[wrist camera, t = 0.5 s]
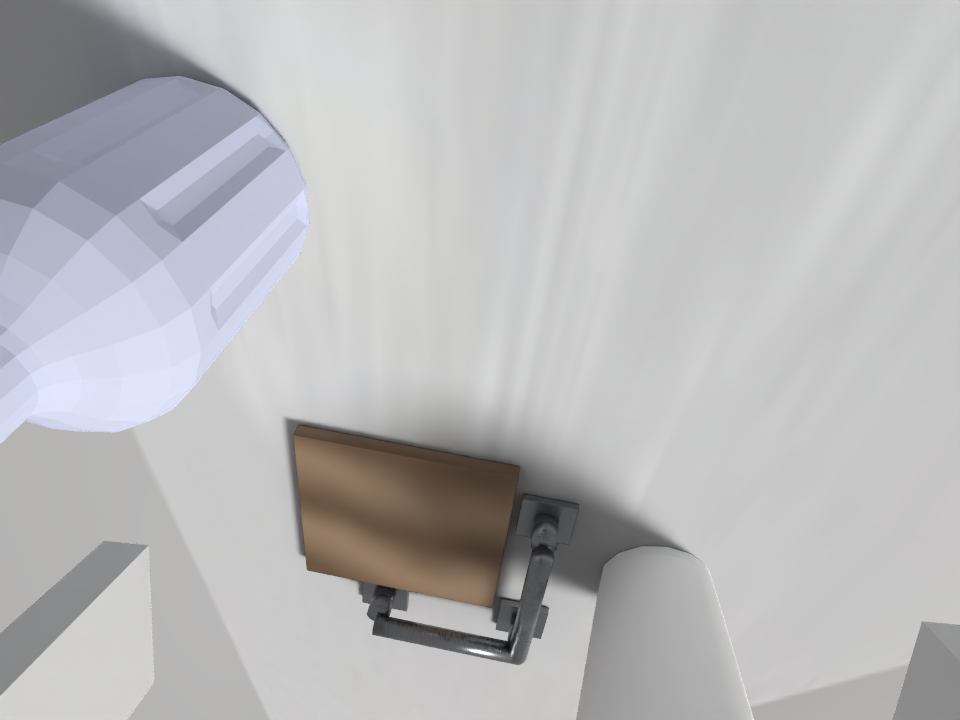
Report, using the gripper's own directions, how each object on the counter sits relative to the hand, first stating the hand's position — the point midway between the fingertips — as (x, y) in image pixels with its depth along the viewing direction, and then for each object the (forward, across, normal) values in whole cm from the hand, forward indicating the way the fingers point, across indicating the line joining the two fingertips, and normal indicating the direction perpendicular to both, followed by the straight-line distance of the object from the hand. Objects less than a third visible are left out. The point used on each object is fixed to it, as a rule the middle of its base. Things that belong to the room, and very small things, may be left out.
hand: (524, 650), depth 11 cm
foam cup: (+25, +10, -14) cm, 30 cm away
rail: (+26, -2, -14) cm, 30 cm away
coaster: (+25, -5, -12) cm, 28 cm away
